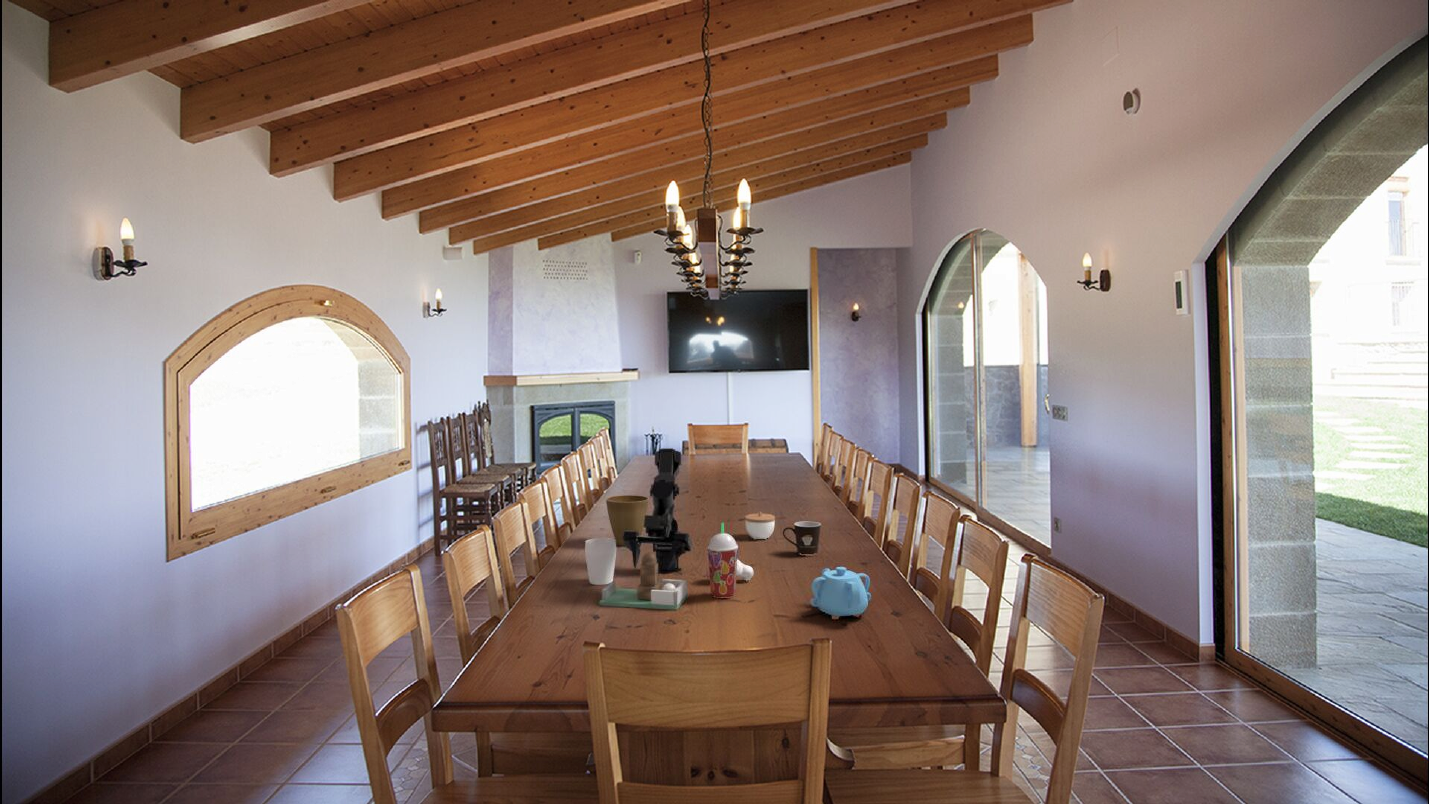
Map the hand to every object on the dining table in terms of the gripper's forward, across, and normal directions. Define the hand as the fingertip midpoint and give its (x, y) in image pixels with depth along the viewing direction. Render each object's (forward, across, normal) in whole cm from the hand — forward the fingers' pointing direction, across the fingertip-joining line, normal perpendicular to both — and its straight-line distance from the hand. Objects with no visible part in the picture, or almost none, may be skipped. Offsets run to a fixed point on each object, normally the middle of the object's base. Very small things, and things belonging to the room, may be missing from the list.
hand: (651, 568), depth 216 cm
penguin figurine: (-8, +19, +21) cm, 29 cm away
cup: (-3, -19, +15) cm, 25 cm away
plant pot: (-35, -26, +48) cm, 65 cm away
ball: (+5, +6, +2) cm, 8 cm away
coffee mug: (-33, +35, +46) cm, 67 cm away
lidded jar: (-47, +18, +60) cm, 78 cm away
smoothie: (+2, +18, +10) cm, 21 cm away
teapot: (+8, +50, +4) cm, 51 cm away
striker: (+6, 0, +4) cm, 7 cm away
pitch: (+7, -1, +5) cm, 9 cm away
